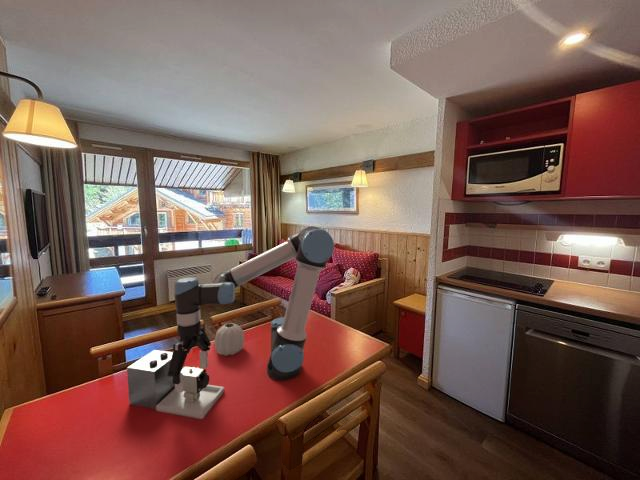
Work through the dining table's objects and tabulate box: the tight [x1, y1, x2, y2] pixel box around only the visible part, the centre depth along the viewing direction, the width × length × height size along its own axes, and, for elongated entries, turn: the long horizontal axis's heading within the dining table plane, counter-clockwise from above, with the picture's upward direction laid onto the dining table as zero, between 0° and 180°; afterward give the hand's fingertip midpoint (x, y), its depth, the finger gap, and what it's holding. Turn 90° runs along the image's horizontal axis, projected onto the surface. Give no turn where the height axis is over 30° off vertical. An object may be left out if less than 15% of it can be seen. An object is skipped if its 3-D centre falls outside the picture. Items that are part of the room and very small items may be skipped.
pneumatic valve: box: [173, 365, 210, 403], centre depth 96 cm, size 6×12×12 cm, turn 80°
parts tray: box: [155, 384, 225, 420], centre depth 97 cm, size 18×14×2 cm
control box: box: [126, 349, 175, 410], centre depth 98 cm, size 11×12×15 cm
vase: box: [214, 322, 245, 357], centre depth 130 cm, size 14×14×13 cm
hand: (192, 378), depth 96 cm, fingers open, 13 cm apart
